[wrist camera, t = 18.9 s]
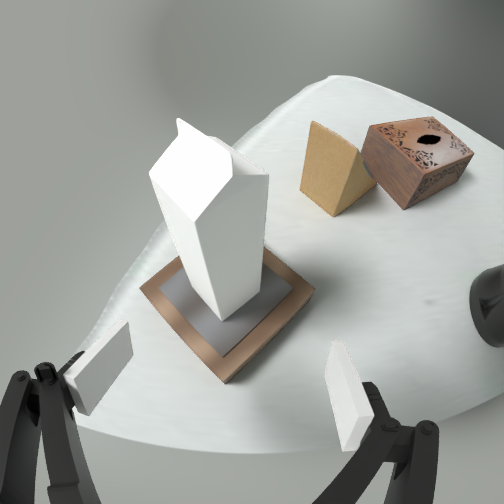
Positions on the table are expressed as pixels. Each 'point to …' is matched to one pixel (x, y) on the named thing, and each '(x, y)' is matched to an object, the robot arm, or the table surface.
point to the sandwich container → (333, 171)
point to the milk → (214, 216)
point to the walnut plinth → (237, 324)
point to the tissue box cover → (414, 158)
